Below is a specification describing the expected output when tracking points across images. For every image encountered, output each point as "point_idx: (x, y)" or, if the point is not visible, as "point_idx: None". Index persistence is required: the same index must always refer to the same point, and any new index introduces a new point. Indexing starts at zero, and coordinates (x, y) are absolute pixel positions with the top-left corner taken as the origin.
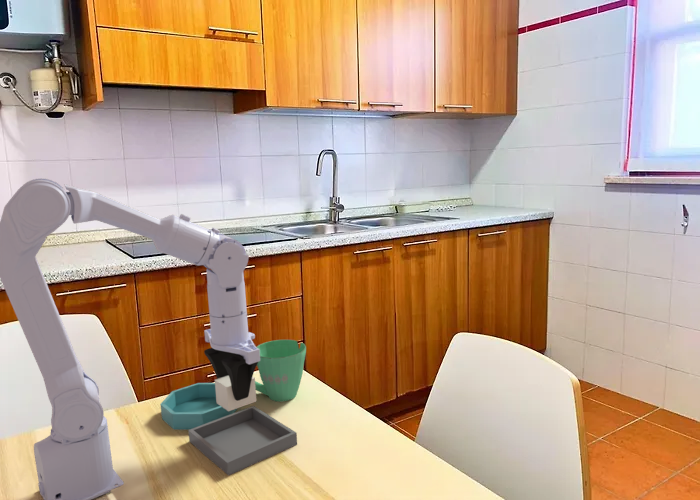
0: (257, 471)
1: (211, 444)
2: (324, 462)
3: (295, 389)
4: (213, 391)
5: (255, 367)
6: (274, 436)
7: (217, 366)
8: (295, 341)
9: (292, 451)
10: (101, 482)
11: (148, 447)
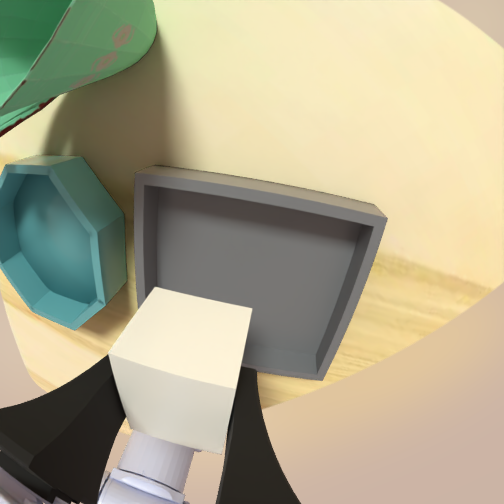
0: (354, 319)
1: None
2: (458, 221)
3: (153, 8)
4: (13, 184)
5: (290, 486)
6: (293, 211)
7: (106, 456)
8: None
9: None
10: None
11: None
